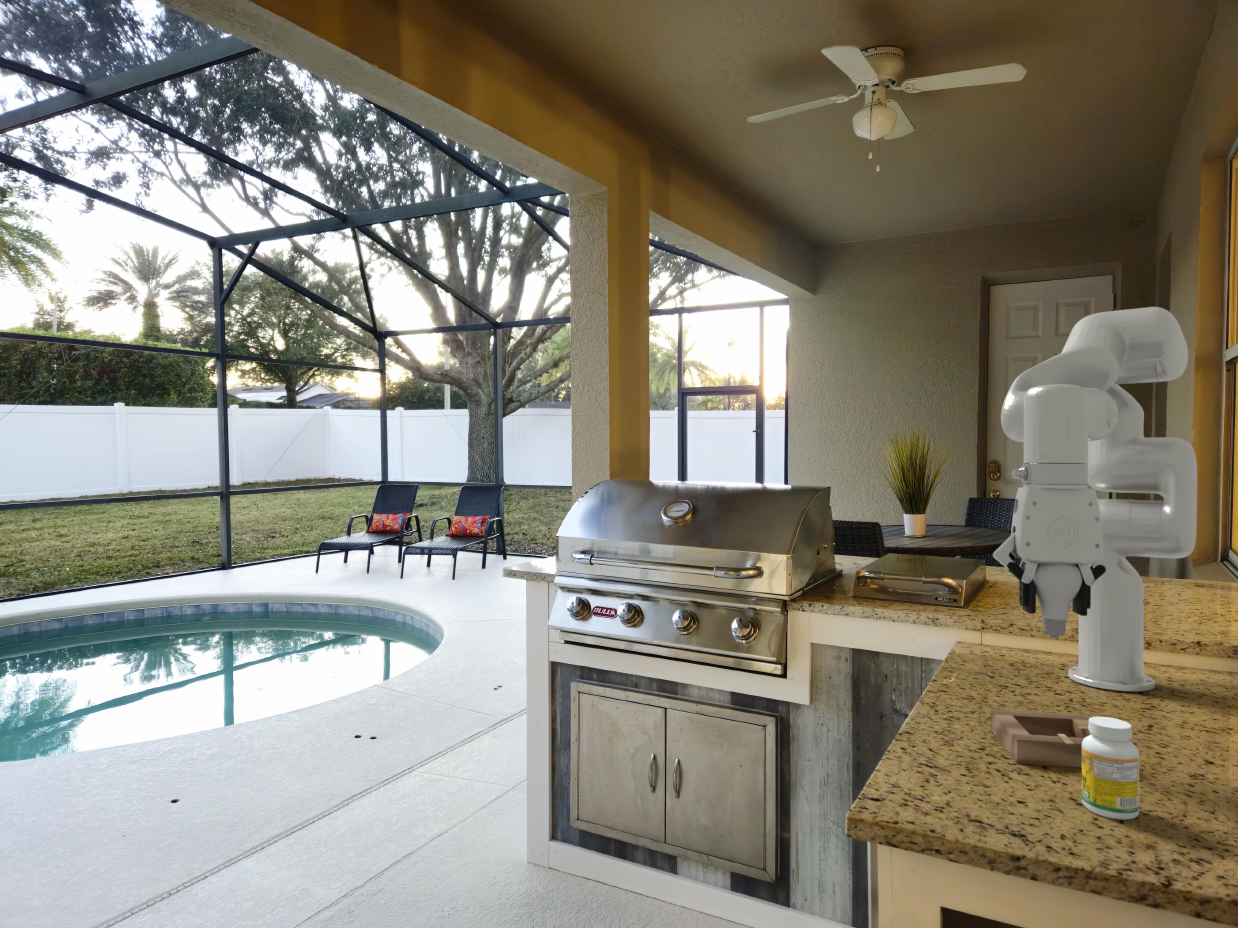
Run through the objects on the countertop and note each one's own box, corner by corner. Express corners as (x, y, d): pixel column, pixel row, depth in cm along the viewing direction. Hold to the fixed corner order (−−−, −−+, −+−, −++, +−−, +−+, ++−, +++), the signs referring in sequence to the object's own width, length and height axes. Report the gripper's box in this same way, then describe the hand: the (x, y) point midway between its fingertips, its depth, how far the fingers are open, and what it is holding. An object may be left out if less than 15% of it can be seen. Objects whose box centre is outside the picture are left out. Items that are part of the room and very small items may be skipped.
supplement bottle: (1135, 825, 81) (1135, 734, 81) (1077, 810, 84) (1077, 723, 84) (1142, 807, 85) (1142, 721, 85) (1086, 794, 88) (1086, 710, 88)
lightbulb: (1088, 644, 99) (1090, 559, 99) (1037, 641, 100) (1038, 557, 100) (1070, 634, 105) (1072, 554, 105) (1022, 631, 106) (1023, 552, 106)
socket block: (990, 730, 109) (990, 708, 109) (1087, 736, 107) (1087, 713, 107) (1018, 764, 97) (1018, 739, 97) (1128, 772, 94) (1128, 746, 94)
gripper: (993, 477, 101) (993, 615, 101) (1139, 478, 98) (1138, 621, 97) (978, 476, 108) (978, 605, 108) (1113, 478, 105) (1113, 611, 105)
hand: (1054, 611), depth 103 cm, fingers closed on lightbulb, 5 cm apart
